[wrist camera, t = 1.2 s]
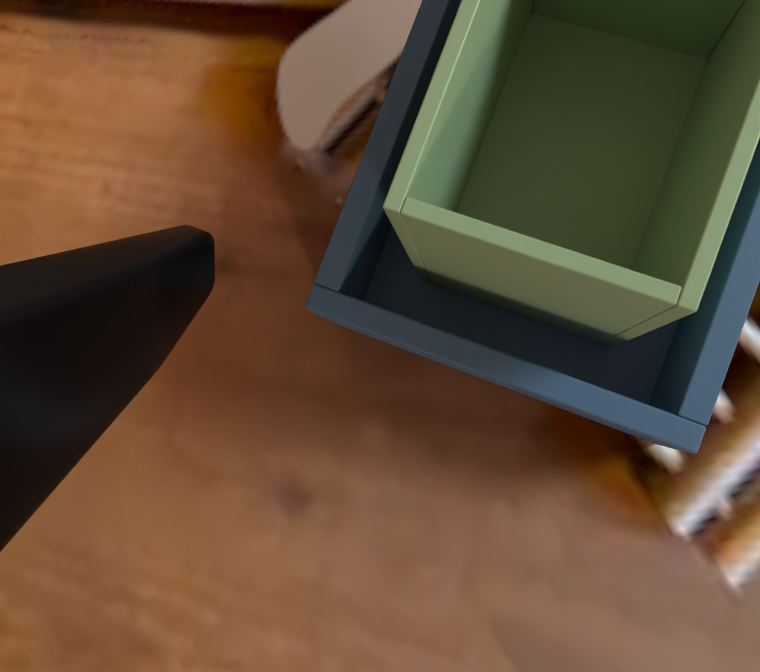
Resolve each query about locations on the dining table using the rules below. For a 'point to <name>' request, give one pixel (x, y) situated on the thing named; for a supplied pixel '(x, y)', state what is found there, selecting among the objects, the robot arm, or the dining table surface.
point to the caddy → (582, 157)
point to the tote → (516, 332)
